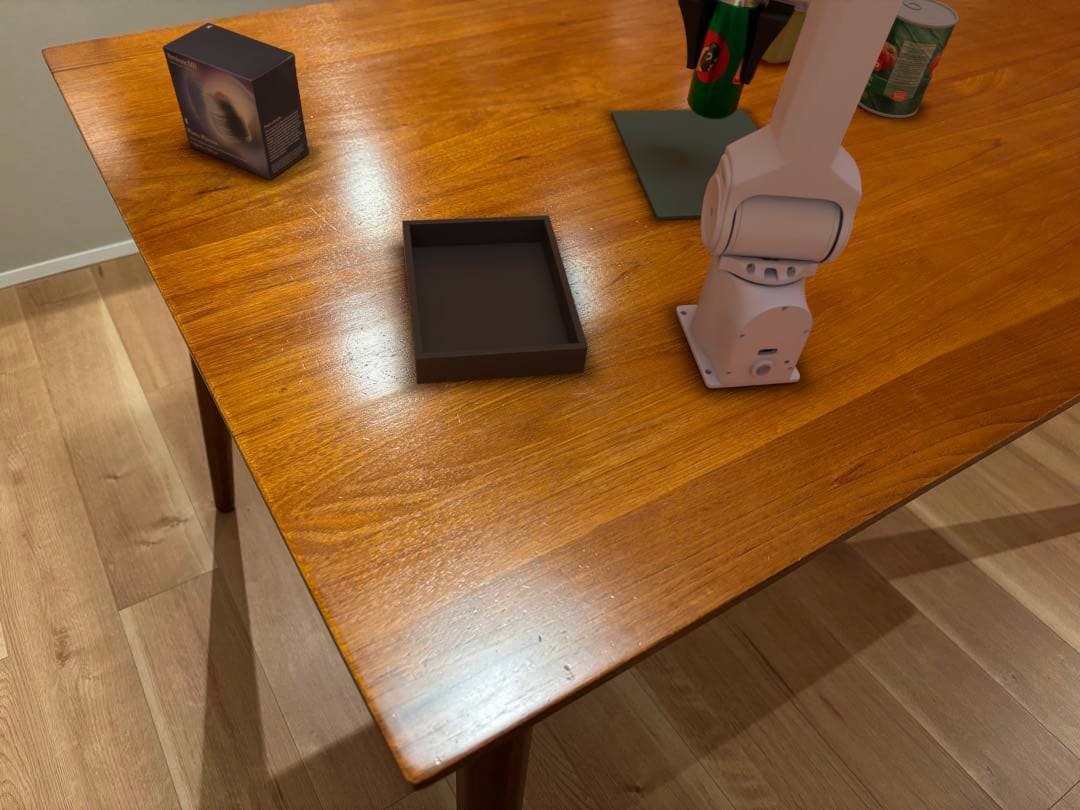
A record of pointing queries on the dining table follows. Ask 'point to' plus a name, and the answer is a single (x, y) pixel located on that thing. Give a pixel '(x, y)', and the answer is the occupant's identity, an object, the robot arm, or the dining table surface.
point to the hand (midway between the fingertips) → (720, 72)
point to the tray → (489, 300)
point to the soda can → (723, 56)
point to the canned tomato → (908, 58)
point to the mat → (678, 154)
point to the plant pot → (785, 40)
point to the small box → (238, 99)
